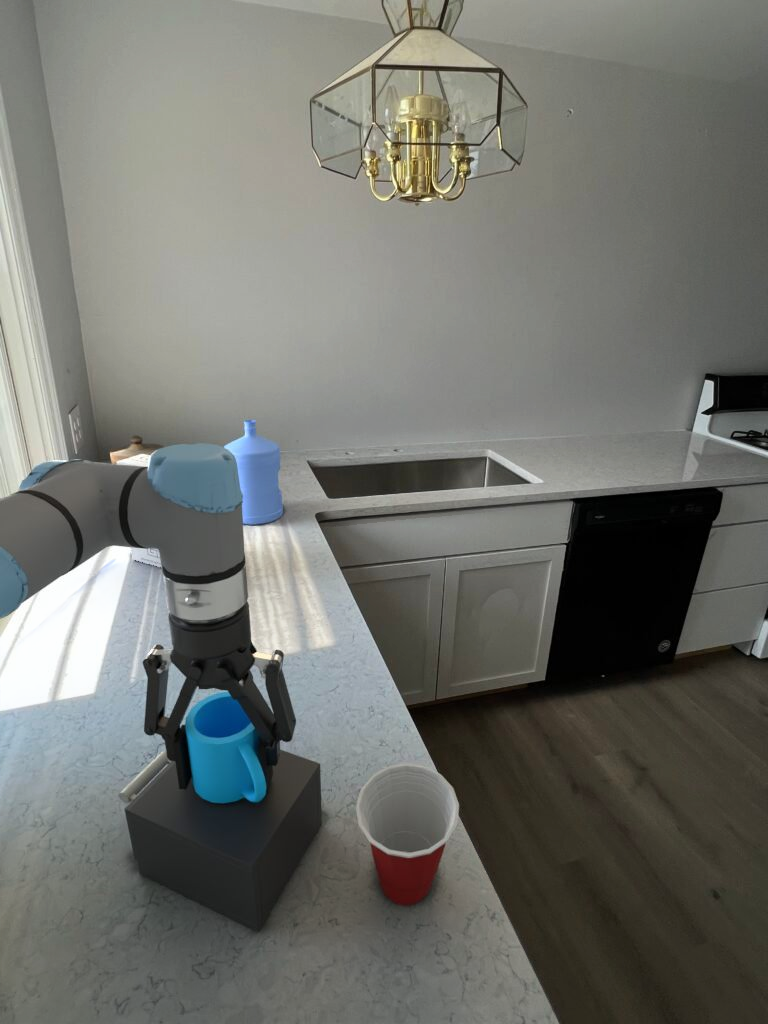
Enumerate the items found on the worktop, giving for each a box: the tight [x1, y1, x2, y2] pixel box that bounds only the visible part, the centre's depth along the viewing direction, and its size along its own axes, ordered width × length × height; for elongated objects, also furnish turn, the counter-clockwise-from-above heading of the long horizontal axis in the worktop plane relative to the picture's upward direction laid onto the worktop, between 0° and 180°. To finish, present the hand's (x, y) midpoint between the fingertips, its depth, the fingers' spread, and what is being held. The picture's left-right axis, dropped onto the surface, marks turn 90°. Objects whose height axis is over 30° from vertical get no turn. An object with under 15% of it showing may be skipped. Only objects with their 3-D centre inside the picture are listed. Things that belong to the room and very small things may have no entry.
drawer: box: [118, 750, 175, 861], centre depth 65 cm, size 19×13×8 cm, turn 68°
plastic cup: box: [355, 762, 460, 906], centre depth 60 cm, size 11×11×12 cm
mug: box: [184, 691, 266, 803], centre depth 61 cm, size 12×8×8 cm
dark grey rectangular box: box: [127, 749, 323, 933], centre depth 64 cm, size 16×14×10 cm
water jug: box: [223, 419, 284, 526], centre depth 158 cm, size 16×16×28 cm
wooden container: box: [109, 435, 165, 464], centre depth 163 cm, size 15×15×22 cm
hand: (226, 781), depth 62 cm, fingers closed on mug, 8 cm apart
